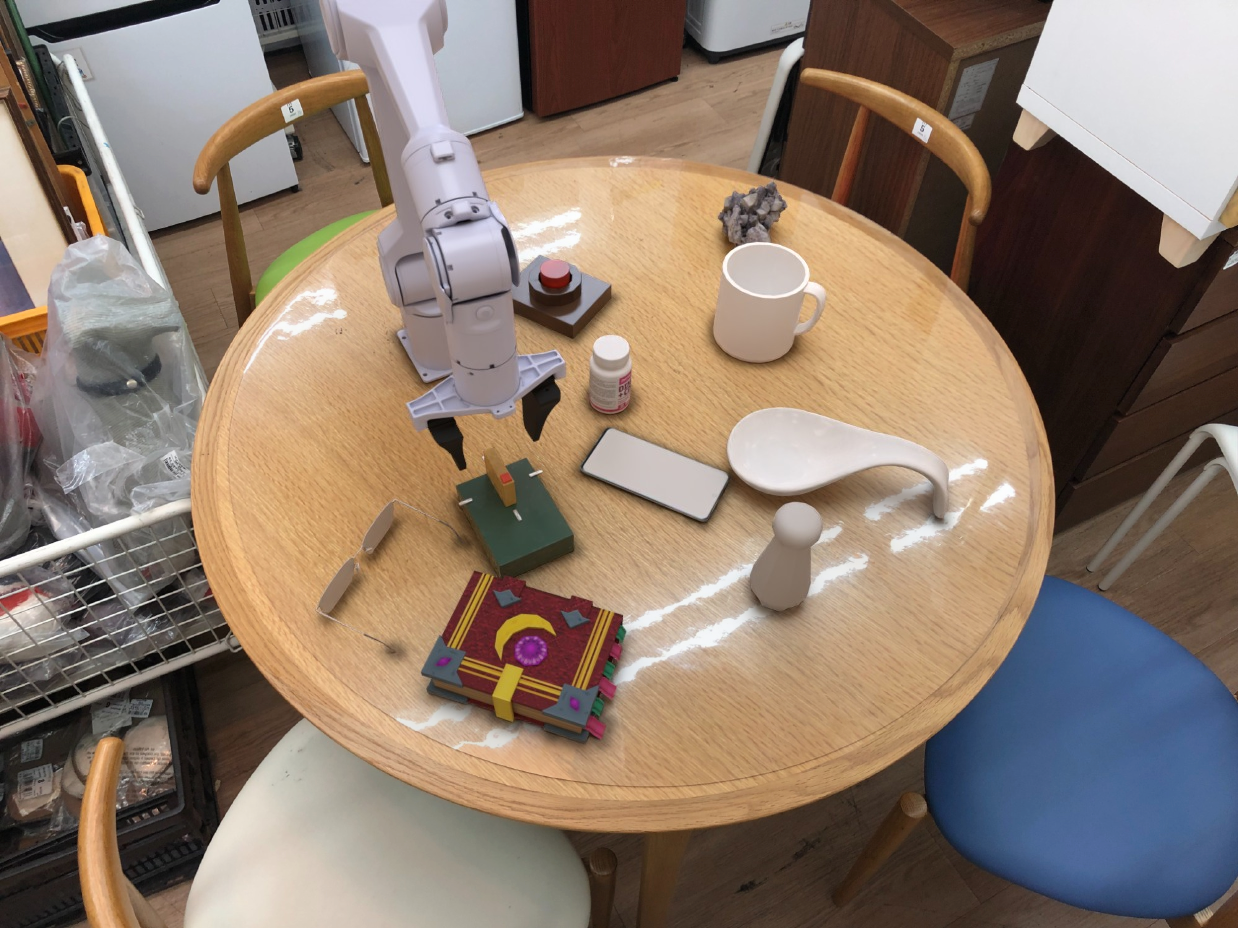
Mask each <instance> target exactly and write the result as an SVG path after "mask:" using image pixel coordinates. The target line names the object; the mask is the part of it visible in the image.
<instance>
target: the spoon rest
mask: <svg viewBox="0 0 1238 928" xmlns="http://www.w3.org/2000/svg"><path fill="white" fill-rule="evenodd" d="M726 455H727V460H728V463H729V465H730V467H731V469H732V470H733V472H734V473H735V475H737V476H738V478H739V479H740V480H741V481H743V482H744V483H745V484H746V485H748V486H749V487H751V488H752V489H754V490H757V491H759V492H761V493H763V494H767V495H772V496H778V497H793V496H799V495H803V494H808V493H811V492H813V491H816V490H818V489H821V488H824V487H826V486H829V485H832V484H834V483H836V482H838V481H840V480H843V479H845V478H848V477H850V476H852V475H855V474H858V473H862V472H864V471H867V470H871V469H875V468H879V467H899V468H904V469H907V470H910V471H913V472H915V473H918V474H920V475H922V476H923V477H924V478H926V479H927V480H928V481H929V482H930V483H931V485H932V486H933V494H932V510H933V514H934V515H935V517H937V518H939V519H943V518H944V517H945V515H946V513H947V510H948V505H949V482H950V481H949V478H950V471H949V467H948V465H947V464H946V462H945V461H944V460H943V458H941V457H940V456H939V455H938V454H936V453H935V452H933V451H932V450H930V449H928V448H926V447H925V446H924V445H921V444H918V443H917V442H914V441H912V440H909V439H906V438H902V437H899V436H896V435H891V434H887V433H883V432H878V431H874V430H871V429H867V428H863V427H859V426H856V425H853V424H850V423H846V422H844V421H841V420H837V419H835V418H832V417H828V416H825V415H822V414H819V413H815V412H811V411H808V410H804V409H800V408H793V407H787V406H785V407H784V406H779V407H778V406H777V407H767V408H761V409H759V410H758V409H757V410H756V411H753V412H751V413H749V414H747V415H745V416H744V417H743V418H741V419H740V420H738V422H737V423H736V424H735V425H734V426H733V428H732V429H731V431H730V434H729V437H728V439H727V441H726Z"/></svg>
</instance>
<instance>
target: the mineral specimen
mask: <svg viewBox="0 0 1238 928" xmlns="http://www.w3.org/2000/svg"><path fill="white" fill-rule="evenodd" d="M777 186H778V185H777V183H776V182H775V181H773V180H771V181H770V182H767V184H766V185H765V186H764V185H758V187H757V188H755V187H751V188H750V189H749V191H748V193H743V192H742V193H739V192H738V191H736V190H733V192H732V193H731V195H728V196H726V197H725V198H724V202H723V209H722V210H721V212H719V214H718V215H717V219H718V220H719V221H720V222H721V223H722V227H721V228H722V231H721V232H722V233H723V234H724V235H725V236H726V237H727V238H728V242H730V243H732V244H733V245H734V248H736V247H738V246H741V245H744V244H747V243H754V242H768V243H772V239H771V236H770V233H771V228H772V226H773V225H774V223H779V221H780V218H781V214H782V213H783V212H784V211H785V210H786V209H787V208H788V203H787V201H786V200H785V199H783V196H782V195H781V194H780V191H778V188H777Z"/></svg>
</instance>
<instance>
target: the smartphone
mask: <svg viewBox="0 0 1238 928" xmlns="http://www.w3.org/2000/svg"><path fill="white" fill-rule="evenodd" d="M580 471H581V472H582V473H583V474H585V475H587V476H590V477H592V478H595V479H597V480H599V481H602V482H604V483H606V484H610V485H612V486H613V487H616V488H619V489H621V490H624V491H625V492H628V493H631V494H634V495H636V496H639V497H641V498H643V499H645V500H648V501H651V502H654V503H656V504H658V505H660V506H663V507H665V508H667V509H670V510H673V511H675V512H677V513H679V514H682V515H685V516H687V517H690V518H692V519H695V520H697V521H699V522H707V521H708V520H709V519H710V517H711V515H712V513H713V512H714V510H715V508H716V506H717V504H718V502H719V501H720V499H721V496H722V495H723V493H724V491H725V489H726V487H727V485H728V483H729V481H730V479H731V477H730V474H729V473H728V472H726V471H723V470H721V469H718V468H716V467H713V466H710V465H709V464H707V463H704V462H700V461H698V460H695V459H694V458H690V457H688V456H686V455H682V454H681V453H678V452H675V451H672V450H671V449H667V448H665V447H662V446H660V445H657V444H655V443H653V442H649V441H647V440H644V439H642V438H640V437H638V436H635V435H632V434H630V433H627V432H624V431H622V430H619V429H617V428H615V427H611V426H610V427H606V428H605V429H604V430H603V432H602V433H601V434H600V435H599V437H598V439H597V440H596V442H595V443H594V444H593V446H592V448H590V451H589V452H588V453H587V455H586V456H585V458H584V460H583V461H582V463H581V464H580Z"/></svg>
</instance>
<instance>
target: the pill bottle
mask: <svg viewBox="0 0 1238 928" xmlns="http://www.w3.org/2000/svg"><path fill="white" fill-rule="evenodd" d="M630 352H631V351H630V344H629V342H628V340H627V339H625V338H624V337H622V336H620V335H617V334H607V335H603V336H600V337H598V338H597V339H596V340H595V341H594V342H593V345H592V355H591V356H590V357H589V365H588V367H589V369H588V370H589V376H588V377H589V385H588V387H589V391H588V400H589V403H590V405H591V407H593V409H594V410H595V411H598V412H600V413H602V414H607V415H612V414H619V413H620V412H623V411H624V410H625V409H626V408H627V407H628V406H629V404H630V402H631V390H632V375H633V374H632V373H633V361H632V357H631V355H630Z"/></svg>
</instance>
